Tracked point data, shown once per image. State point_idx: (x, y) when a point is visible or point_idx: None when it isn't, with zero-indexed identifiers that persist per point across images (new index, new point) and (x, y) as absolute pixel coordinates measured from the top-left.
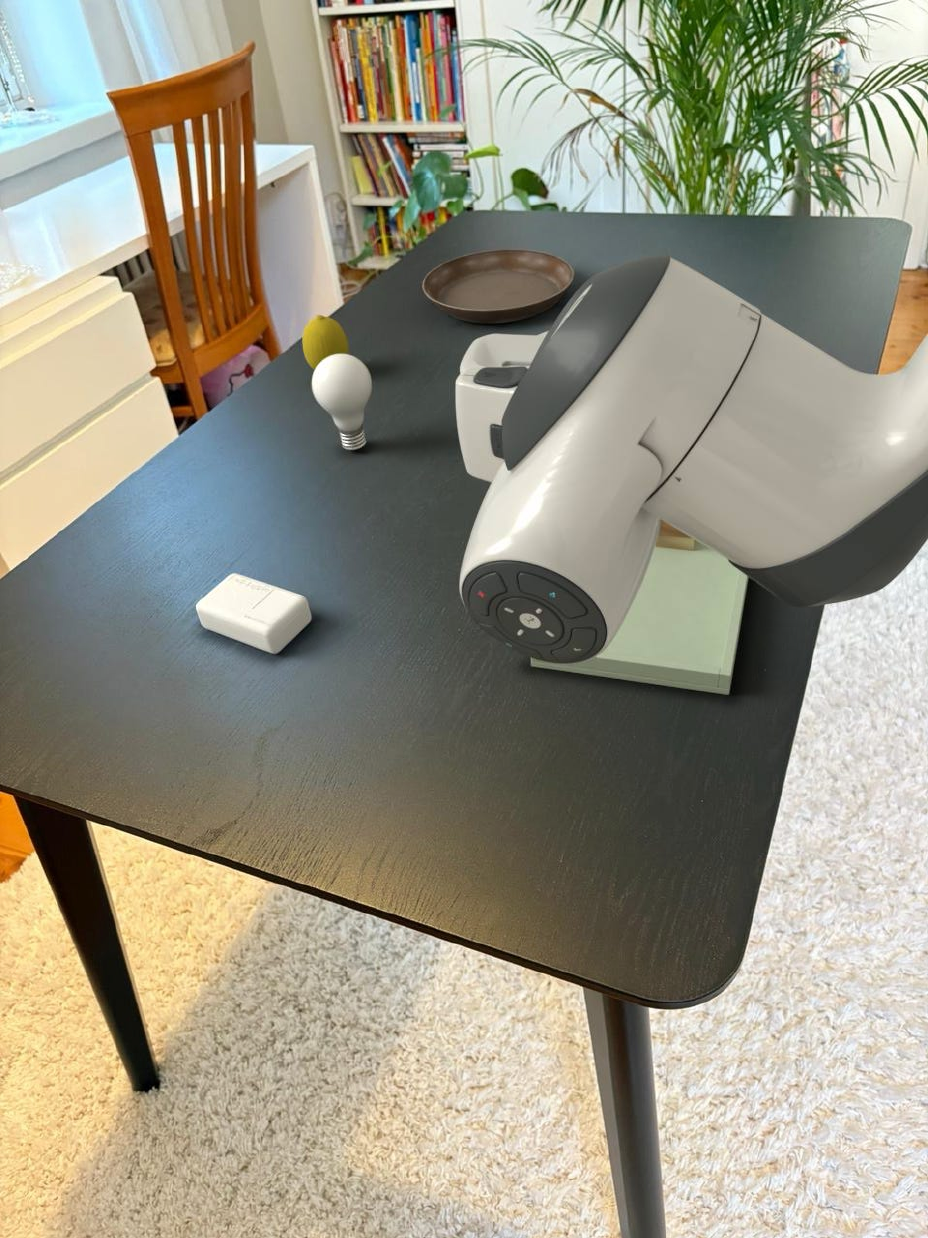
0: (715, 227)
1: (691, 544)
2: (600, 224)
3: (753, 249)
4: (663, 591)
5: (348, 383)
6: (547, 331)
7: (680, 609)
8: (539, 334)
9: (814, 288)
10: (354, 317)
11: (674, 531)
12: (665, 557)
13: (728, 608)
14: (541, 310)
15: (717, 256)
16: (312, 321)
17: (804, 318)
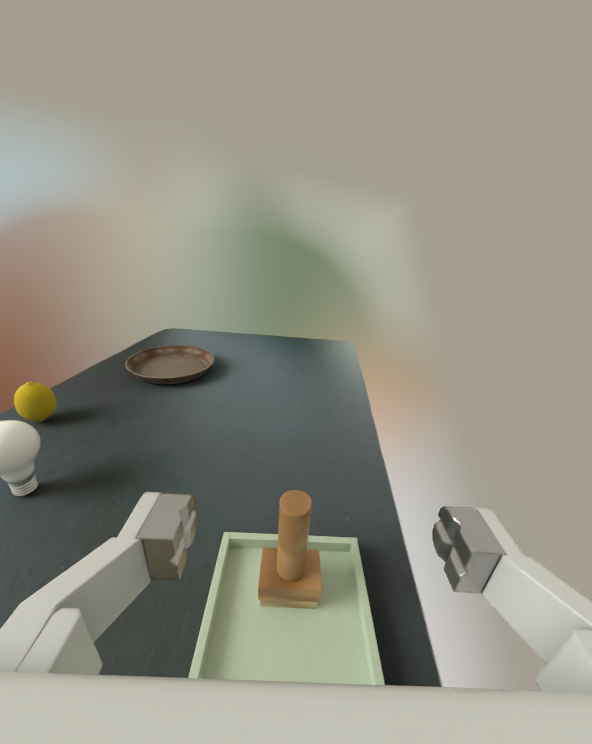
0: (279, 340)
1: (315, 605)
2: (228, 336)
3: (298, 350)
4: None
5: (4, 449)
6: (69, 571)
7: None
8: (32, 595)
9: (330, 369)
10: (80, 378)
11: (300, 598)
12: (293, 624)
13: None
14: (195, 377)
15: (282, 353)
16: (22, 386)
17: (330, 384)
